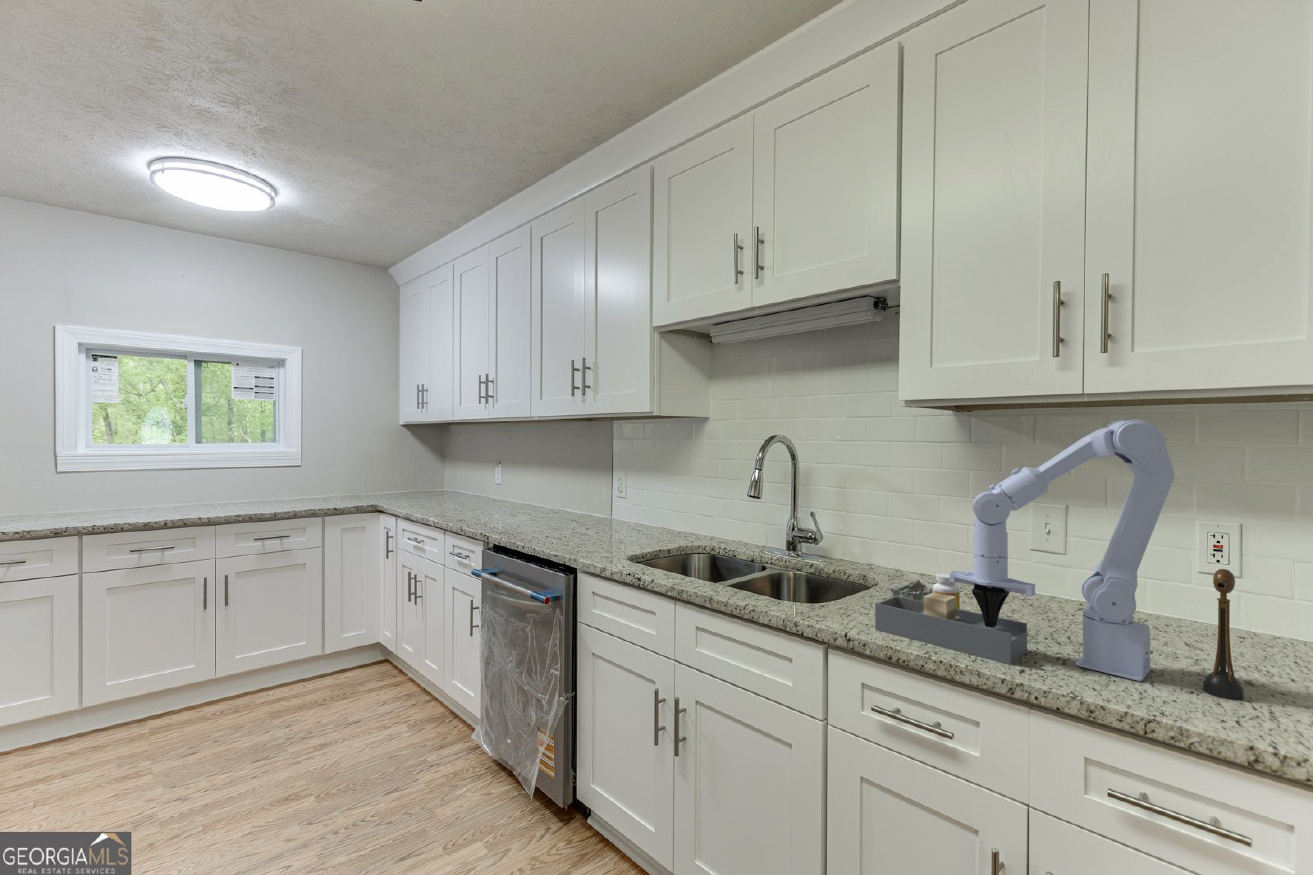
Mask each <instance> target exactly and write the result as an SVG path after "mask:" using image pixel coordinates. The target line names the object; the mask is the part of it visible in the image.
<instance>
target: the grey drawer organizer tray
mask: <svg viewBox="0 0 1313 875" xmlns="http://www.w3.org/2000/svg"><path fill="white" fill-rule="evenodd" d="M874 609H875V611H874V613H875V614H874V617H875V618H874V619H875V620H874V622H875V623H874V624H875V628H874V630H876V631H879V632H883V633H887V634H891V635H895V636H899V637H902V638H907V639H910V640H915V641H919V642H922V643H925V644H930V645H934V646H937V647H940V648H941V647H942V648H945V649H949V650H953V651H957V652H960V653H964V654H967V655H968V654H969V655H972V656H976V657H980V658H983V659H988V660H991V661H993V662H998V663H1002V664H1006V665H1012V664H1013V663H1015V661H1017V660H1018V659H1020V658H1022V656H1024V655H1025V654H1026V653H1028V623H1027V622H1022V621H1018V620H1012V619H1008V618H1003V617H999V616H998V620H997V625H996V626H995V627H993V628H991V627H986V626H985V623H984V619H983V615H982V613H980V612H975V611H970V610H965V609H956V619H955V620H948V619H944V618H940V617H935V616H931V615H926V614H924V602H923V601H918V600H914V599H909V598H904V597H899V596H894V597H891V596H890V597H889V598H886V599H883V600H882V601H879V602H876V603H875V607H874Z"/></svg>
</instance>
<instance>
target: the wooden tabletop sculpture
mask: <svg viewBox="0 0 1313 875" xmlns="http://www.w3.org/2000/svg"><path fill="white" fill-rule="evenodd" d="M1212 578H1213V579H1212V584H1213V588H1214V589H1215V591H1217V592H1218V593H1219V597H1217V598H1216V600H1217V601H1218V603H1217V604H1218V605H1217V606H1218V608H1217V611H1218V612H1217V616H1218V617H1217V622H1218V623H1217V644H1216V654H1215V662H1214V666H1213V671H1211V673H1209V674H1207V675H1206V677H1205V679H1204V680H1203V683H1202V684H1203V685H1202V691H1204V692H1205V693H1206V694H1209V695H1211V696H1214V697H1216V698H1220V699H1225V700H1232V701H1241V700H1244V688H1243V686H1242V684H1241V682H1240V681H1239V680H1238V678H1236V676H1235V673H1234V672H1235V671H1234V667H1233V662H1232V661H1233V659H1232V653H1231V640H1230V639H1231V636H1230V633H1231V632H1230V630H1231V628H1230V624H1231V623H1230V622H1231V621H1230V616H1231V614H1230V612H1231V611H1230V607H1231V606H1230V603H1231V600H1230V599H1228V594H1231V593H1232V592H1233V590H1234V589H1235V586H1236V578H1235V575H1234V574H1233V573H1232V571H1230V570H1229V569H1226V568H1219V569H1217V570H1216V571H1215V572H1214V573H1213V577H1212Z"/></svg>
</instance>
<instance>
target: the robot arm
mask: <svg viewBox="0 0 1313 875" xmlns="http://www.w3.org/2000/svg"><path fill="white" fill-rule="evenodd" d="M1115 456H1116V457H1117V458H1119V459H1121V460H1122V462H1123V463H1124V464H1125V465H1126V467H1127V468H1128V469H1129V471H1130V472H1131V473H1132V474H1133V476H1134V478H1133V481H1132V483H1131V486H1130V488H1129V492H1128V493H1127V496H1126V499H1125V501H1124V503H1123V506H1122V509H1121V512H1120V515H1119V517H1118V519H1117V522H1116V525H1115V528H1114V530H1113V532H1112V535H1111V538H1110V541H1109V542H1108V544H1107V545H1108V546H1107V548H1106V550H1105V553H1104V556H1103V558H1102V559H1101V560H1100V561H1099V563H1098V564H1097V565H1096V566H1095V569H1094V571H1093V572H1092V574H1091V575H1090V576H1088V577H1087V578H1085V579H1084V580H1083V583H1082V585H1081V593H1082V597H1083V598H1084V599H1085V601H1086V602H1087V605H1086V607H1085V608H1084V609H1083V610H1082V656H1080V658H1079V659H1077V660H1076V661H1075V662H1074V663H1075V664H1074V665H1075V666H1077V667H1081V668H1085V669H1088V670H1093V671H1097V672H1100V673H1101V672H1102V673H1105V674H1110V675H1112V676H1113V675H1114V676H1117V677H1121V678H1125V679H1128V680H1134V681H1138V682H1142V681H1143V680H1144V679H1145V678H1146V676H1147V675H1148V674H1149V673H1150V671H1151V670H1152V667H1151V629H1150V626H1149V625H1147V624H1145V623H1141V622H1138V621H1135V620H1134V616H1133V615H1134V614H1135V612H1136V610H1137V601H1136V600H1137V599H1136V591H1137V589H1138V570H1139V567H1140V565H1141V563H1142V560H1143V557H1144V555H1145V553H1146V550H1147V548H1148V545H1149V543H1150V540H1151V538H1152V535H1153V532H1154V529H1155V527H1156V524H1157V523H1158V520H1159V518H1160V517H1159V516H1160V514H1161V513H1162V512H1161V511H1162V510H1163V507H1164V504H1165V502H1166V500H1167V497H1168V495H1169V492H1170V489H1171V486H1172V485H1173V482H1174V479H1175V476H1176V474H1175V469H1174V466H1173V463H1172V460H1171V457H1170V454H1169V450H1168V448H1167V437H1165V435H1164V434H1162V433H1161V432H1160V431H1159V429H1158V428H1157V427H1156V426H1155V425H1154V424H1153V423H1151V422H1149V421H1147V420H1143V419H1137V418H1136V419H1129V420H1126V419H1120V420H1115V421H1113V422H1111V423H1109V424H1107V425H1106V427H1101V428H1099V429H1097V430H1095V431H1093V432H1090V433H1089V434H1087V435H1085V436H1084V437H1082V438H1080V439H1079V440H1077V441H1076V442H1074V443H1073V444H1072V445H1069V446H1068V447H1067V448H1065V449H1064V450H1063V451H1061V452H1059V453H1057V454H1056V455H1054V457H1052V458H1050V459H1048V461H1046V462H1044V463H1042V464H1041V465H1040V466H1038V467H1036V468H1035V467H1029V466H1024V467H1022V469H1020V468H1018V467H1017V468H1014V469H1013V470H1011V475H1009V476H1008V477H1007V478H1005V479H1003V480H1002V481H1000V482H998V483H997V484H996V485H995V484H994V483H992V484H991V485H989V486H988V488H989V490H990V491H983V492H981V493H979V494H978V495H976V497H975V498H974V500H973V503H972V504H971V509H972V511H973V513H974V514H975V517H974V521H973V526H974V529H973V572H965V571H956V570H952V571H950V572H949V574H950V582H953V583H955V584H956V583H959V584H964V585H970V586H973V588H972V589H971V593H972V595H973V597H974V599H975V601H976V602H977V604H978V607H979V609H980V611H981V614H982V615H983V619H984V623H985V626H986V627H991V628H993V627H995V626H996V625H997V620H998V617H999V615H1000V612H1001V609H1002V607H1003V605H1004V603H1005V602H1006V600H1007V598H1008V596H1009V595H1010V593H1016V594H1022V595H1025V596H1027V597H1033V596H1035V595H1036V584H1035V583H1031V582H1026V581H1022V580H1017V579H1014V578H1010V577H1009V576H1008V575H1009V572H1008V571H1009V570H1008V569H1009V568H1008V567H1009V562H1008V561H1009V560H1008V559H1009V555H1008V554H1009V553H1008V550H1009V547H1008V546H1009V544H1008V543H1009V542H1008V540H1009V539H1008V533H1009V532H1008V531H1007V520H1008V518H1009V517H1010V514H1011V512H1014V511H1015V512H1017V511H1018V510H1020V509H1022V508H1023V507H1025V506H1026V505H1028V504H1031V502H1033V501H1035V500H1037V499H1038V498H1040V497H1042V496H1043V495H1045V494H1046V493H1048V490H1049V485H1050V483H1051V482H1052V481H1054V480H1055V479H1057V478H1059V477H1062V476H1063V475H1065V474H1066V473H1068V472H1070V471H1071V470H1073V469H1076V468H1077V467H1079V466H1081V465H1082V464H1084V463H1087V462H1088V461H1089V460H1091V459H1092V460H1093V459H1096V458H1105V457H1106V458H1107V457H1108V458H1109V457H1115Z"/></svg>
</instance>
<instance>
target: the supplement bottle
mask: <svg viewBox="0 0 1313 875" xmlns="http://www.w3.org/2000/svg"><path fill="white" fill-rule="evenodd" d="M935 579H936V582H937V583H935V584H933V586H932V589H933V592H934V593H939V594H944V595H949V596H954V597H956V609H960V606H961V605H960V602H961V601H960V597H961V596H960V593H961V592H960V591H961V590H960V587H959V586H958V585H957V584H956V583H953V582H950V573H936V577H935Z"/></svg>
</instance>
